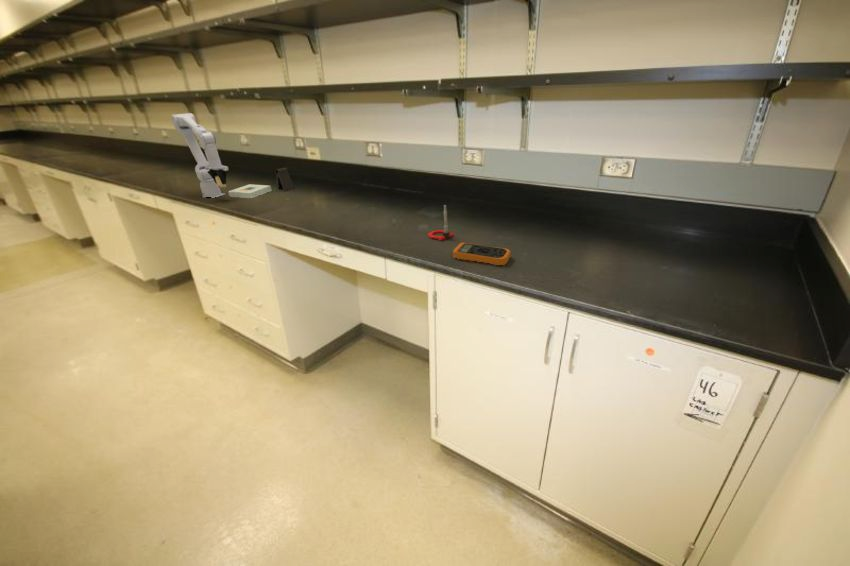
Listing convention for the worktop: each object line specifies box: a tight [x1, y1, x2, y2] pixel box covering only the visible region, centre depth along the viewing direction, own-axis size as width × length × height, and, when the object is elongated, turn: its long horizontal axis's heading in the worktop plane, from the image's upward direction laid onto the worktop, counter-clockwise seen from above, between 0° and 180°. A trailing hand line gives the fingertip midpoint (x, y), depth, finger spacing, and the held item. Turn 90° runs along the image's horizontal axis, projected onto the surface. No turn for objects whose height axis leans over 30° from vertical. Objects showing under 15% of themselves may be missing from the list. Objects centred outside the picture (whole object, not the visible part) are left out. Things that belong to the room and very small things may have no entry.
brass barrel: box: [215, 175, 227, 189], centre depth 195 cm, size 4×4×6 cm
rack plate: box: [227, 183, 273, 200], centre depth 209 cm, size 16×16×3 cm
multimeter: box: [452, 242, 511, 266], centre depth 122 cm, size 9×18×3 cm, turn 64°
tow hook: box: [427, 204, 455, 242], centre depth 139 cm, size 8×13×9 cm
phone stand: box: [275, 166, 295, 192], centre depth 213 cm, size 9×6×12 cm, turn 50°
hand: (221, 183), depth 196 cm, fingers closed on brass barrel, 4 cm apart
